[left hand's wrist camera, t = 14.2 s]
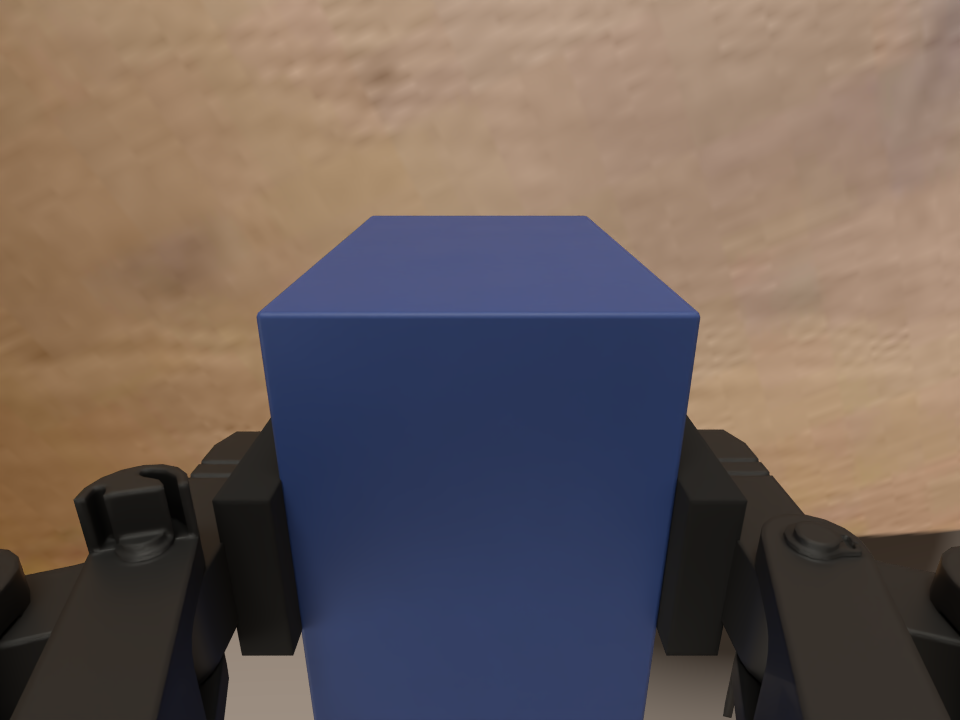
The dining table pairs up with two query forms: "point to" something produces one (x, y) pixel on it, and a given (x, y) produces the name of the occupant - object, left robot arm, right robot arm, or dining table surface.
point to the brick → (478, 466)
